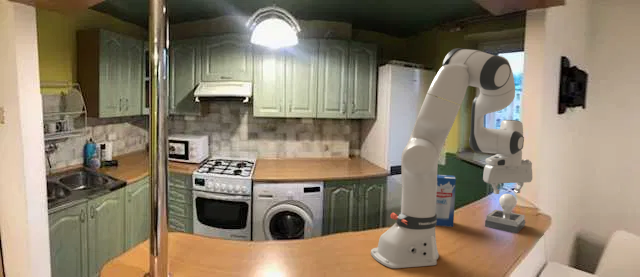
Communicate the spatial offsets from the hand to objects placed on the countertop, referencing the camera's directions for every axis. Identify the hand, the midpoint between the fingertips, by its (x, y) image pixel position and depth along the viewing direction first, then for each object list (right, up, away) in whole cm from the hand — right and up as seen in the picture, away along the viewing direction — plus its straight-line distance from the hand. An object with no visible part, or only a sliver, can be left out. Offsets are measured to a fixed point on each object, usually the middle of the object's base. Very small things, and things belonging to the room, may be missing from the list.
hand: (506, 193), depth 153 cm
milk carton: (-26, -13, +4) cm, 29 cm away
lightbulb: (0, -11, +1) cm, 11 cm away
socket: (0, -14, +1) cm, 14 cm away
